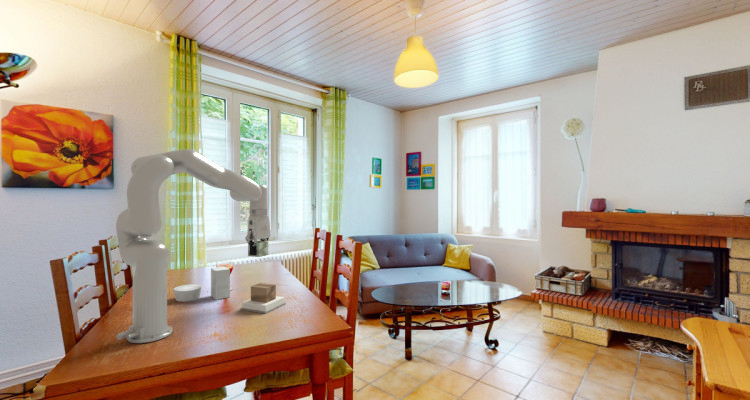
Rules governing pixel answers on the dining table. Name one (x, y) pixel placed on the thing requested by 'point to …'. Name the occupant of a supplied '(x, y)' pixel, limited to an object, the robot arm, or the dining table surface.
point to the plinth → (263, 305)
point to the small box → (220, 282)
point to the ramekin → (187, 292)
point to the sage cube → (260, 249)
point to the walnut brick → (263, 292)
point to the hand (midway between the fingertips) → (258, 253)
